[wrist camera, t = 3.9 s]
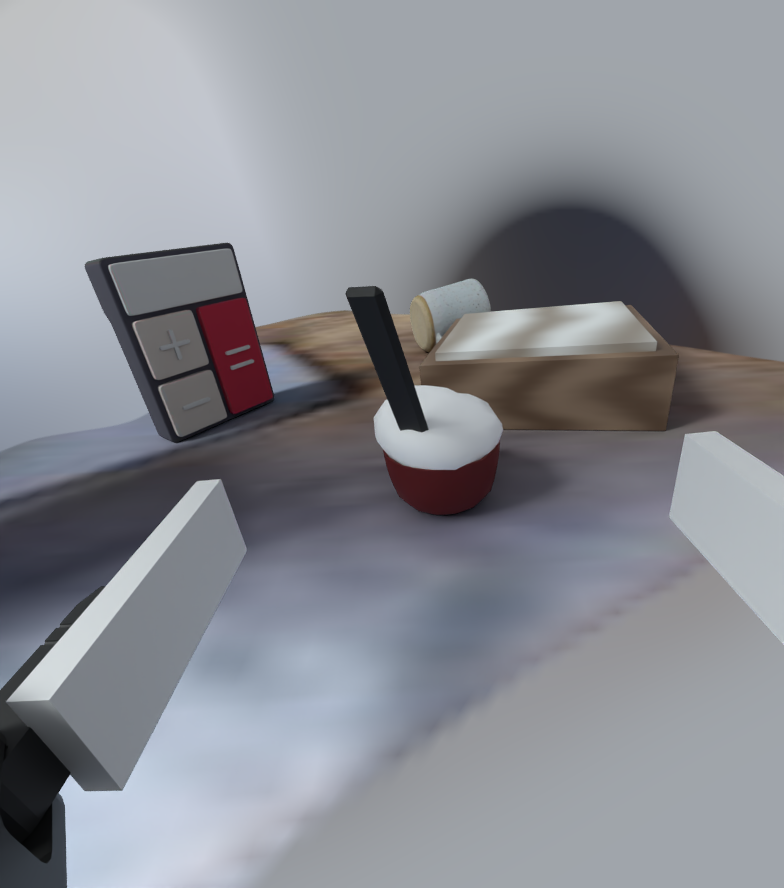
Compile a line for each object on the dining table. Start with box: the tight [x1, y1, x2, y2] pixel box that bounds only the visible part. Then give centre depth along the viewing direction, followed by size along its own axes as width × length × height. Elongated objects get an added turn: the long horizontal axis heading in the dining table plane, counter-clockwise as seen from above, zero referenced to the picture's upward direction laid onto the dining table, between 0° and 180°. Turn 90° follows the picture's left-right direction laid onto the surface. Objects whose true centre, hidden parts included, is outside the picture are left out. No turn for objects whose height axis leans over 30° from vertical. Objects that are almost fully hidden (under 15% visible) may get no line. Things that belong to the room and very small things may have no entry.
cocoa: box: [346, 286, 503, 515], centre depth 21 cm, size 10×6×12 cm, turn 127°
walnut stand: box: [419, 301, 679, 431], centre depth 35 cm, size 16×16×6 cm
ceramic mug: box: [410, 279, 491, 352], centre depth 50 cm, size 11×8×8 cm
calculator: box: [85, 243, 274, 442], centre depth 38 cm, size 11×4×15 cm, turn 140°
